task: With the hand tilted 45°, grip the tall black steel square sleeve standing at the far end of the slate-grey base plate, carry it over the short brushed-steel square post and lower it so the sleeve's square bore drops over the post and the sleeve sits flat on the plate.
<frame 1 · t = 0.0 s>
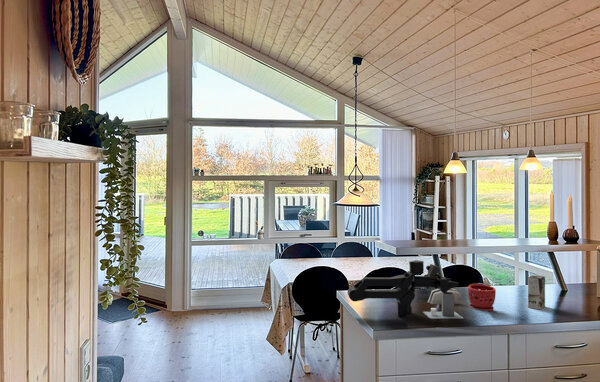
hand: (454, 282, 207), 17 cm above the countertop, tool horizontal, fingers open, 9 cm apart
steel sleeve: (448, 314, 202), point 1 cm above the countertop, touching base plate
coffee box: (536, 307, 223), on the countertop
base plate: (442, 318, 202), on the countertop
plant pot: (481, 310, 217), on the countertop
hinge: (444, 304, 229), on the countertop
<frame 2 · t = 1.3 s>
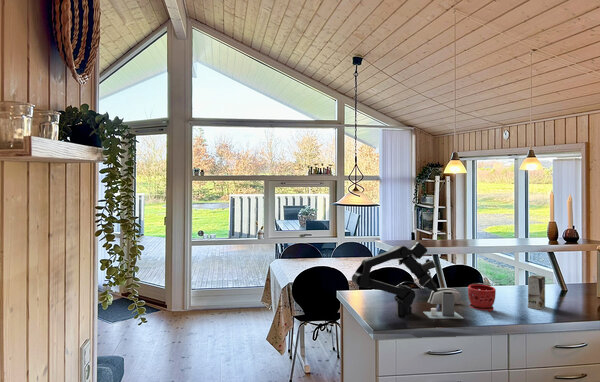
hand: (436, 289, 204), 13 cm above the countertop, tool tilted 45°, fingers open, 9 cm apart
nothing on the countertop moved.
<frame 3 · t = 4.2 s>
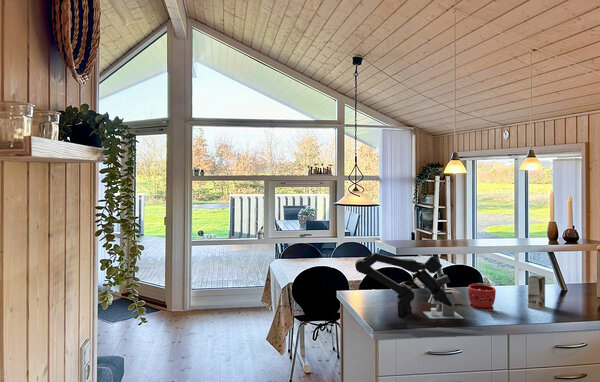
hand: (451, 304, 202), 7 cm above the countertop, tool tilted 45°, fingers closed on steel sleeve, 5 cm apart
steel sleeve: (448, 314, 202), point 1 cm above the countertop, touching base plate, gripper
everything else where it was.
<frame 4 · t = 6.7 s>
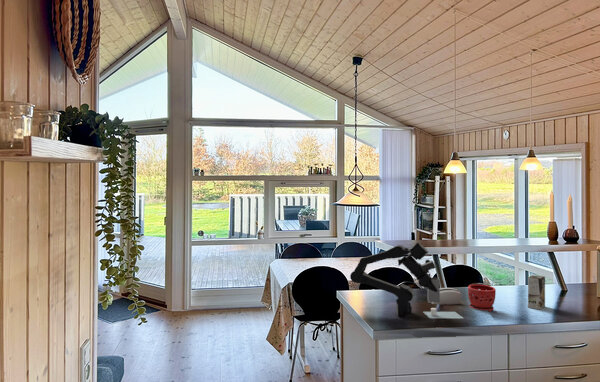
hand: (436, 290, 202), 13 cm above the countertop, tool tilted 45°, fingers closed on steel sleeve, 5 cm apart
steel sleeve: (433, 300, 203), point 8 cm above the countertop, touching gripper
everything else where it was.
when the fingers open (8 cm above the countertop, at t = 9.5 s): steel sleeve drops 1 cm, resting on base plate.
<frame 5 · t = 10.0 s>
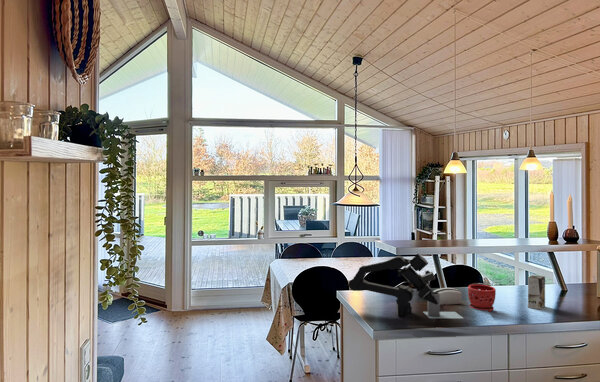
hand: (436, 301, 202), 8 cm above the countertop, tool tilted 45°, fingers open, 9 cm apart
steel sleeve: (433, 314, 202), point 1 cm above the countertop, touching base plate
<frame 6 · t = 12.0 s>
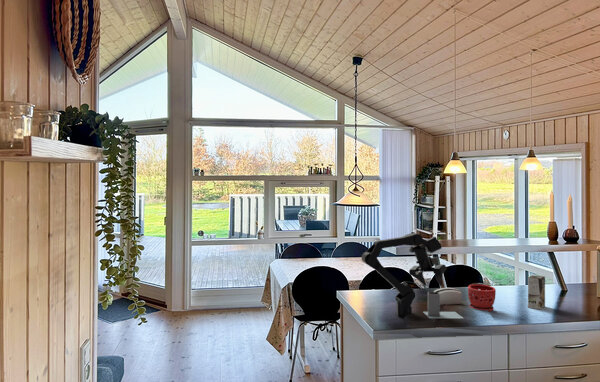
hand: (433, 285, 209), 14 cm above the countertop, tool tilted 25°, fingers open, 9 cm apart
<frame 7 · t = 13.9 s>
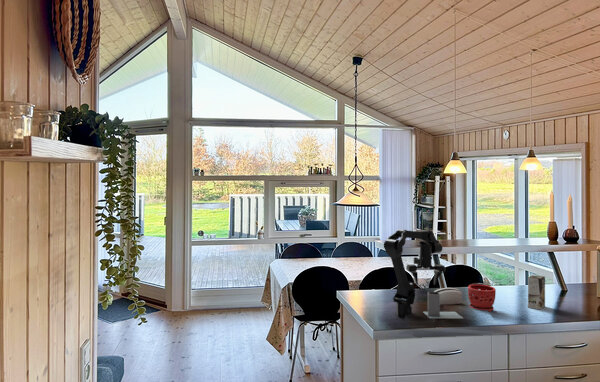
hand: (425, 284, 217), 13 cm above the countertop, tool pointing down, fingers open, 9 cm apart
at the end: steel sleeve 0.0 cm from the target spot on the base plate, point 1.5 cm above the base plate's base; steel sleeve tilted 0°; the gripper is holding nothing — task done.
